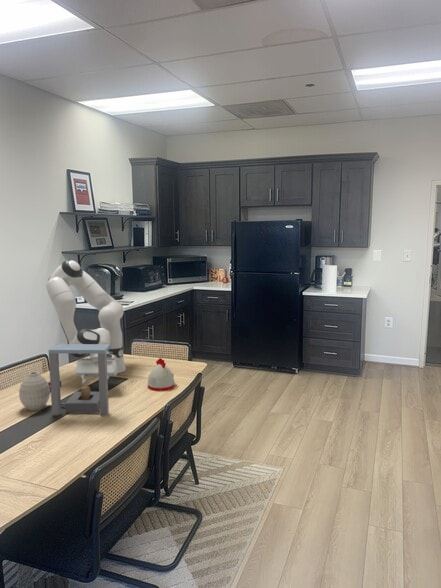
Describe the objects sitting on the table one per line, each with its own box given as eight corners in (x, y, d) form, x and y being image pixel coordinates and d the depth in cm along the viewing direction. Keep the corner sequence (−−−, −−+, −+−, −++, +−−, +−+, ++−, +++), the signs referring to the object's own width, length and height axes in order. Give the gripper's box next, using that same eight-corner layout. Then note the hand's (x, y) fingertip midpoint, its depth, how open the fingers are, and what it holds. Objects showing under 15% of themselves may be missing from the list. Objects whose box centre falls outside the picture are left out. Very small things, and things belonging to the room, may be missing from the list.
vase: (21, 404, 200) (18, 370, 198) (50, 401, 205) (49, 367, 202) (19, 415, 189) (16, 379, 186) (50, 411, 193) (48, 375, 191)
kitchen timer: (156, 393, 216) (156, 364, 213) (142, 385, 226) (142, 357, 224) (179, 387, 224) (179, 359, 222) (165, 379, 235) (165, 353, 233)
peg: (80, 406, 199) (79, 388, 197) (87, 404, 201) (87, 385, 200) (84, 409, 196) (83, 390, 194) (92, 406, 199) (91, 388, 197)
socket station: (65, 400, 206) (62, 340, 201) (115, 400, 206) (113, 340, 201) (52, 415, 189) (48, 349, 185) (107, 415, 189) (104, 350, 185)
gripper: (76, 355, 215) (70, 381, 207) (117, 355, 215) (113, 380, 207) (79, 361, 220) (74, 386, 212) (119, 361, 220) (116, 386, 212)
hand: (94, 383), depth 210 cm, fingers open, 8 cm apart
